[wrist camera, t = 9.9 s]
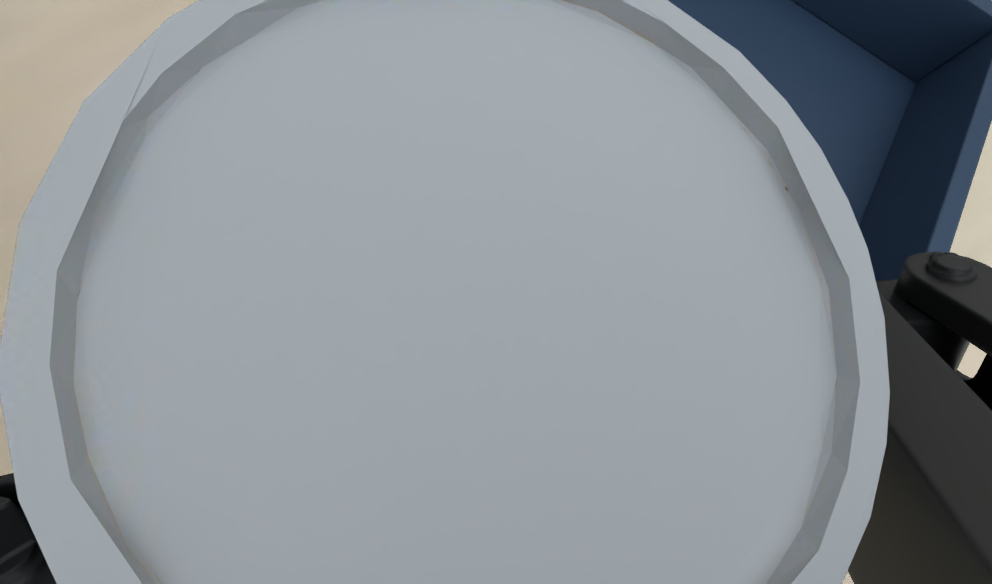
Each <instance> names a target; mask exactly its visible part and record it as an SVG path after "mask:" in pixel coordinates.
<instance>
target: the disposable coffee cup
mask: <svg viewBox="0 0 992 584" xmlns="http://www.w3.org/2000/svg"><path fill="white" fill-rule="evenodd" d="M0 399H1V404H2V410H3V416H4V422H5V427H6V433H7V439H8V445H9V450H10V456H11V462H12V468H13V473H14V479H15V485H16V491H17V496H18V500H19V503H20V505H21V507H22V509H23V511H24V513H25V516H26V518H27V520H28V522H29V524H30V527H31V529H32V531H33V533H34V535H35V538H36V540H37V542H38V544H39V546H40V548H41V551H42V553H43V555H44V557H45V559H46V562H47V564H48V566H49V568H50V570H51V573H52V575H53V577H54V579H55V581H56V583H57V584H842V582H843V580H844V578H845V575H846V573H847V571H848V568H849V566H850V564H851V561H852V559H853V557H854V554H855V552H856V550H857V547H858V545H859V543H860V541H861V538H862V536H863V534H864V531H865V529H866V527H867V524H868V522H869V520H870V517H871V513H872V508H873V503H874V499H875V494H876V490H877V485H878V481H879V476H880V471H881V467H882V462H883V458H884V453H885V448H886V443H887V428H888V413H889V399H890V387H889V373H888V359H887V345H886V331H885V318H884V313H883V309H882V305H881V301H880V296H879V292H878V288H877V284H876V280H875V276H874V272H873V268H872V264H871V260H870V255H869V251H868V248H867V245H866V243H865V240H864V238H863V235H862V233H861V230H860V228H859V225H858V223H857V220H856V218H855V215H854V213H853V210H852V208H851V205H850V203H849V200H848V199H847V197H846V195H845V193H844V191H843V189H842V187H841V185H840V184H839V182H838V180H837V178H836V176H835V174H834V172H833V170H832V168H831V167H830V165H829V163H828V161H827V159H826V157H825V155H824V153H823V152H822V150H821V148H820V146H819V145H818V144H817V142H816V141H815V139H814V138H813V137H812V135H811V134H810V133H809V131H808V130H807V128H806V127H805V126H804V124H803V123H802V122H801V120H800V119H799V117H798V116H797V115H796V113H795V112H794V111H793V109H792V108H791V106H790V105H789V104H788V102H787V101H786V100H785V99H784V98H783V97H782V95H781V94H780V93H779V92H778V91H777V90H776V89H775V88H774V87H773V86H772V85H771V84H770V83H769V82H768V81H767V80H766V79H765V78H764V77H763V76H762V74H761V73H760V72H759V71H758V70H757V69H756V68H755V67H754V66H753V65H752V64H751V63H750V62H749V61H748V60H747V59H746V58H745V57H744V56H743V55H742V54H741V52H740V51H738V50H737V49H736V48H734V47H733V46H731V45H730V44H729V43H727V42H726V41H724V40H723V39H721V38H720V37H719V36H717V35H716V34H714V33H713V32H712V31H710V30H709V29H707V28H706V27H705V26H703V25H702V24H700V23H699V22H697V21H696V20H695V19H693V18H692V17H690V16H689V15H688V14H686V13H685V12H683V11H682V10H681V9H679V8H678V7H676V6H675V5H674V4H672V3H671V2H669V1H668V0H199V1H197V2H195V3H194V4H192V5H190V6H188V7H187V8H185V9H183V10H181V11H180V12H178V13H176V14H175V15H173V16H171V17H169V18H168V19H167V20H166V21H165V22H164V23H163V24H162V25H161V26H160V27H159V28H158V29H157V30H156V31H155V32H154V33H153V34H152V35H151V36H150V37H149V38H148V39H147V40H146V41H145V42H144V43H143V44H142V45H141V46H140V47H139V48H137V49H136V50H135V51H134V52H133V53H132V54H131V55H130V56H129V57H128V58H127V59H126V60H125V61H124V62H123V63H122V64H121V65H120V66H119V67H118V68H117V69H116V70H115V71H114V72H113V73H112V74H111V75H110V76H109V77H108V78H107V79H106V80H105V81H104V82H103V83H102V84H101V85H100V86H99V87H98V88H97V89H96V90H95V91H94V92H93V93H92V94H91V95H90V96H89V97H88V98H87V99H86V100H85V101H84V102H83V104H82V106H81V108H80V109H79V111H78V113H77V115H76V117H75V119H74V121H73V123H72V125H71V126H70V128H69V130H68V132H67V134H66V136H65V138H64V140H63V142H62V143H61V145H60V147H59V149H58V151H57V153H56V155H55V157H54V158H53V160H52V162H51V164H50V166H49V168H48V170H47V172H46V174H45V175H44V177H43V179H42V181H41V183H40V185H39V187H38V189H37V190H36V192H35V194H34V196H33V198H32V200H31V202H30V204H29V206H28V207H27V209H26V211H25V213H24V215H23V217H22V219H21V221H20V222H19V226H18V232H17V239H16V245H15V251H14V258H13V264H12V270H11V277H10V283H9V290H8V296H7V302H6V309H5V315H4V322H3V328H2V334H1V341H0Z"/></svg>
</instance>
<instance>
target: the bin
mask: <svg viewBox="0 0 992 584" xmlns="http://www.w3.org/2000/svg"><path fill="white" fill-rule="evenodd" d="M668 1H669V2H671V3H672V4H674V5H675V6H676V7H678V8H679V9H681V10H682V11H683V12H685V13H686V14H688V15H689V16H690V17H692V18H693V19H695V20H696V21H697V22H699V23H700V24H702V25H703V26H705V27H706V28H707V29H709V30H710V31H712V32H713V33H714V34H716V35H717V36H719V37H720V38H721V39H723V40H724V41H726V42H727V43H729V44H730V45H731V46H733V47H734V48H736V49H737V50H738V51H740V52H741V54H742V55H743V56H744V57H745V58H746V59H747V60H748V61H749V62H750V63H751V64H752V65H753V66H754V67H755V68H756V69H757V70H758V71H759V72H760V73H761V74H762V76H763V77H764V78H765V79H766V80H767V81H768V82H769V83H770V84H771V85H772V86H773V87H774V88H775V89H776V90H777V91H778V92H779V93H780V94H781V95H782V97H783V98H784V99H785V100H786V101H787V102H788V104H789V105H790V106H791V108H792V109H793V111H794V112H795V113H796V115H797V116H798V117H799V119H800V120H801V122H802V123H803V124H804V126H805V127H806V128H807V130H808V131H809V133H810V134H811V135H812V137H813V138H814V139H815V141H816V142H817V144H818V145H819V146H820V148H821V150H822V152H823V153H824V155H825V157H826V159H827V161H828V163H829V165H830V167H831V168H832V170H833V172H834V174H835V176H836V178H837V180H838V182H839V184H840V185H841V187H842V189H843V191H844V193H845V195H846V197H847V199H848V200H849V203H850V205H851V208H852V210H853V213H854V215H855V218H856V220H857V223H858V225H859V228H860V230H861V233H862V235H863V238H864V240H865V243H866V245H867V248H868V251H869V255H870V260H871V264H872V268H873V272H874V276H875V280H876V281H883V280H894V279H898V278H899V275H900V272H901V269H902V267H903V264H904V262H905V260H906V259H907V258H908V257H909V256H911V255H914V254H917V253H925V252H935V251H938V252H943V253H945V252H949V251H950V248H951V245H952V242H953V239H954V236H955V233H956V230H957V227H958V223H959V220H960V217H961V214H962V211H963V208H964V205H965V202H966V199H967V195H968V192H969V189H970V186H971V183H972V180H973V177H974V174H975V171H976V168H977V164H978V161H979V158H980V155H981V152H982V149H983V146H984V143H985V140H986V136H987V133H988V130H989V127H990V124H991V121H992V1H991V0H668Z"/></svg>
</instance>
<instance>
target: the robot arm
mask: <svg viewBox="0 0 992 584" xmlns="http://www.w3.org/2000/svg"><path fill="white" fill-rule="evenodd" d="M876 284H877V288H878V292H879V296H880V301H881V305H882V309H883V313H884V318H885V331H886V345H887V359H888V373H889V387H890V399H889V413H888V428H887V443H886V448H885V453H884V458H883V462H882V467H881V471H880V476H879V481H878V485H877V490H876V494H875V499H874V503H873V508H872V513H871V517H870V520H869V522H868V524H867V527H866V529H865V531H864V534H863V536H862V538H861V541H860V543H859V545H858V547H857V550H856V552H855V554H854V557H853V559H852V561H851V564H850V566H849V568H848V572H849V574H850V576H851V578H852V580H853V582H854V584H992V268H991V267H989V266H987V265H985V264H983V263H980V262H978V261H975V260H973V259H970V258H967V257H963V256H959V255H957V254H955V253H950V252H945V253H943V252H938V251H935V252H925V253H917V254H914V255H911V256H909V257H908V258H907V259H906V260H905V262H904V264H903V267H902V269H901V272H900V275H899V278H898V279H894V280H883V281H876ZM969 343H972V344H973V345H975V346H976V347H978V348H979V349H981V350H982V351H984V352H985V353H987V355H986V357H985V359H984V361H983V362H982V364H981V366H980V368H979V370H978V372H977V374H976V375H975V376H974V378H969V377H968V376H966V375H964V374H962V373H961V372H959V371H958V370H957V368H958V366H959V364H960V362H961V360H962V358H963V356H964V354H965V352H966V349H967V347H968V345H969ZM0 584H57V583H56V581H55V579H54V577H53V575H52V573H51V570H50V568H49V566H48V564H47V562H46V559H45V557H44V555H43V553H42V551H41V548H40V546H39V544H38V542H37V540H36V538H35V535H34V533H33V531H32V529H31V527H30V524H29V522H28V520H27V518H26V516H25V513H24V511H23V509H22V507H21V505H20V503H19V500H18V496H17V491H16V485H15V479H14V473H12V474H7V475H3V476H0Z"/></svg>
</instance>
